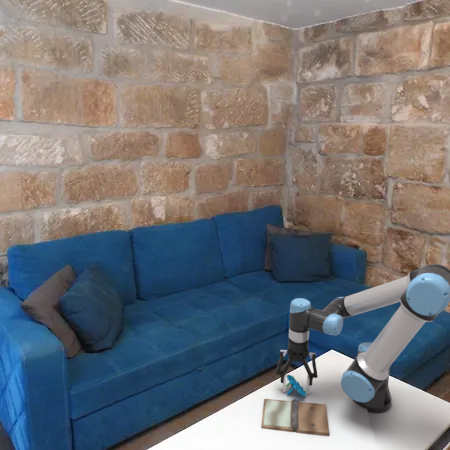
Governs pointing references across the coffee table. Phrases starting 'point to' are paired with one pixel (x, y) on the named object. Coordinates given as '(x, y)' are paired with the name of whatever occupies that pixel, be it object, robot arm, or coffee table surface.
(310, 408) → the hinge board
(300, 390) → the gear
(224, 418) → the coffee table surface
